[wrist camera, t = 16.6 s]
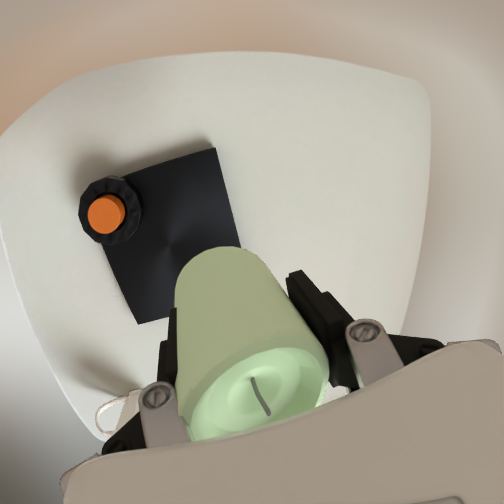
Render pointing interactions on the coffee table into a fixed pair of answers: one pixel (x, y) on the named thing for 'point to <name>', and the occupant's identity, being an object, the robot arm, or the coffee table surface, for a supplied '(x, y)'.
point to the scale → (162, 227)
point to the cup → (127, 412)
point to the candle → (241, 346)
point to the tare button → (106, 214)
